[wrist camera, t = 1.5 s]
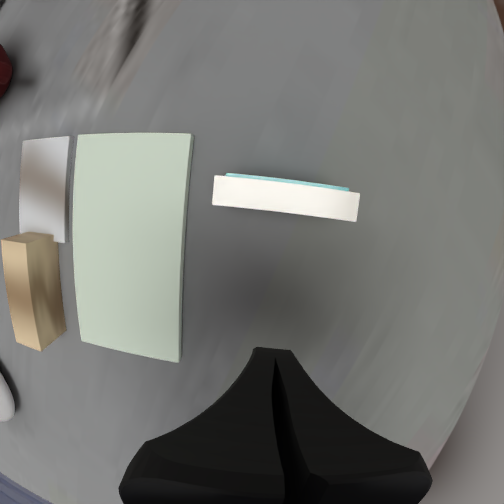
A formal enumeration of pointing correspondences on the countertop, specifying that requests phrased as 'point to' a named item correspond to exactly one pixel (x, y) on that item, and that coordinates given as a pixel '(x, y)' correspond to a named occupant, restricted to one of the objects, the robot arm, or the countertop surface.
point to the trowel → (39, 242)
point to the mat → (131, 240)
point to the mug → (4, 71)
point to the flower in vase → (6, 401)
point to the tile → (285, 196)
